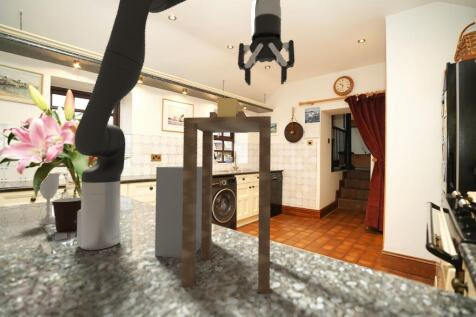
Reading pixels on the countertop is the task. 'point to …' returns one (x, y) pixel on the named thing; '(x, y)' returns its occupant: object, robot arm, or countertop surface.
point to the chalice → (49, 195)
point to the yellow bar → (228, 108)
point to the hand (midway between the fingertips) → (265, 84)
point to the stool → (190, 189)
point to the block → (173, 211)
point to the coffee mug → (66, 214)
